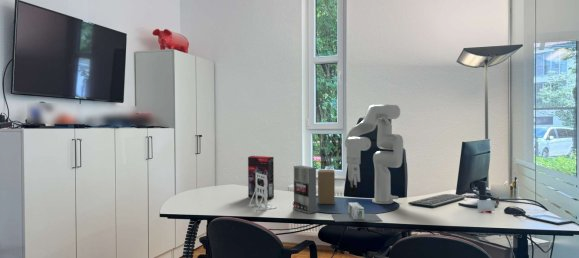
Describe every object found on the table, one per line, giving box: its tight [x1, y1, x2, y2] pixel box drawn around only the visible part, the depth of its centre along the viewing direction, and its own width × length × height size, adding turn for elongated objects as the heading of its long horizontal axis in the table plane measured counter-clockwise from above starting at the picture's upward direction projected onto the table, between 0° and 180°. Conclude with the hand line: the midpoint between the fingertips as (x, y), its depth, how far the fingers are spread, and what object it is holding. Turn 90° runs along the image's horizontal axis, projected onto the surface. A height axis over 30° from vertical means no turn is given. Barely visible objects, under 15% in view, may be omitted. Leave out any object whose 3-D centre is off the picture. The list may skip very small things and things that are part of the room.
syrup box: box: [347, 202, 365, 219], centre depth 212 cm, size 6×6×14 cm
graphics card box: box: [247, 155, 275, 200], centre depth 262 cm, size 17×7×27 cm, turn 58°
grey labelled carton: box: [292, 165, 318, 215], centre depth 225 cm, size 14×6×25 cm, turn 37°
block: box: [317, 169, 336, 205], centre depth 245 cm, size 10×10×20 cm
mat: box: [331, 213, 383, 223], centre depth 209 cm, size 24×14×1 cm, turn 92°
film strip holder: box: [246, 173, 278, 212], centre depth 234 cm, size 14×14×20 cm
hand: (353, 194), depth 215 cm, fingers closed
